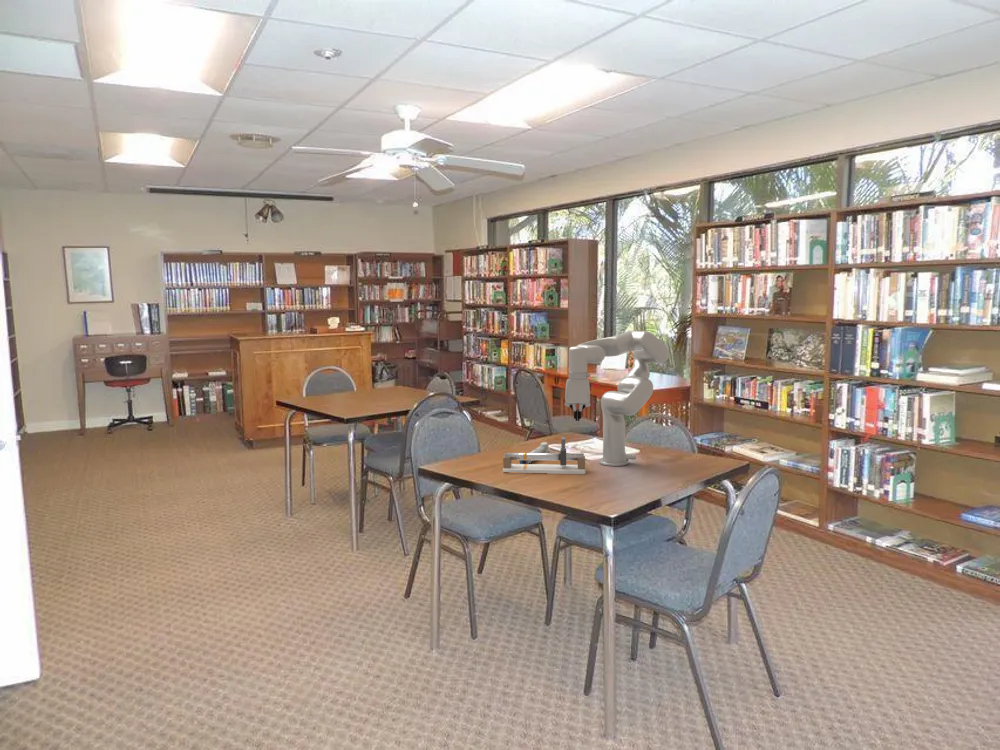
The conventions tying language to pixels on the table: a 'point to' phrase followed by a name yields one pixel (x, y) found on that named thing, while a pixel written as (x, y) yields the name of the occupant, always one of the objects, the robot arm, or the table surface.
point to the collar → (562, 452)
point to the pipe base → (544, 467)
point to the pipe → (544, 456)
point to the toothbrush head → (541, 449)
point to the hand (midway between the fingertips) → (577, 420)
